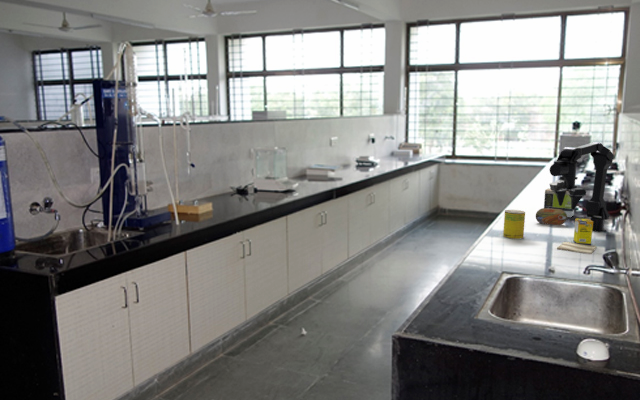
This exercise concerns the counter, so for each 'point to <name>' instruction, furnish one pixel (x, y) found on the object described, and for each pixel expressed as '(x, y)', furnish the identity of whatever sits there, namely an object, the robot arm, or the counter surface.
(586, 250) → the birch board
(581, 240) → the supplement box
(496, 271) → the counter surface
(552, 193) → the tea box
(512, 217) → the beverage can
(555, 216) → the tin
